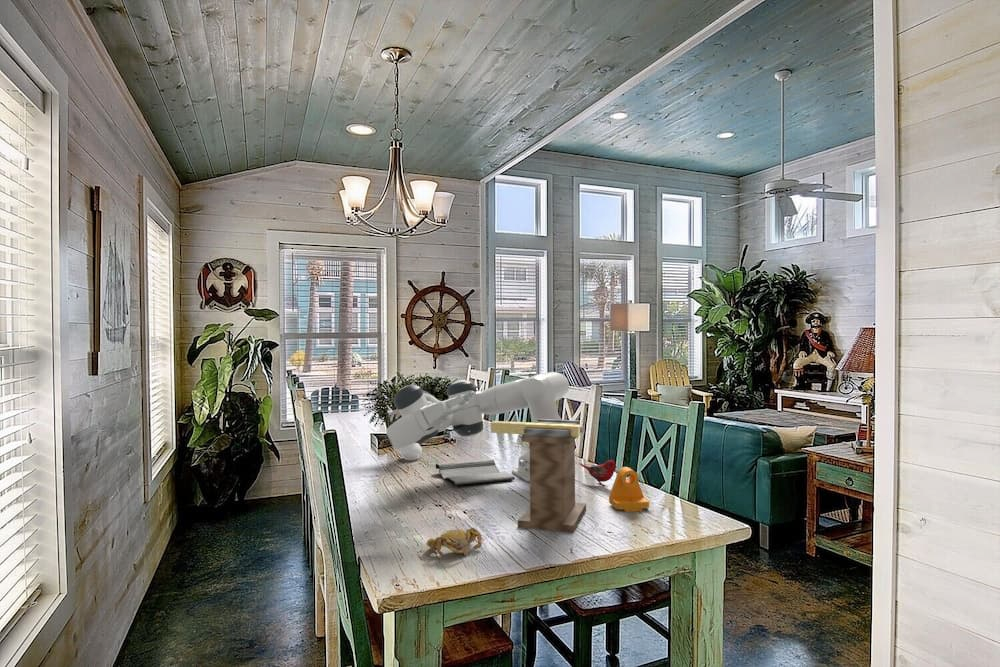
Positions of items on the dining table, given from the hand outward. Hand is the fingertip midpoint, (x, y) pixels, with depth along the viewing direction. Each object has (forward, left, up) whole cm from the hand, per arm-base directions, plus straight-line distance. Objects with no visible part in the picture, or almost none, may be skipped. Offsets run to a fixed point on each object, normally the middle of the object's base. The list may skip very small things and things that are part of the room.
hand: (468, 395), depth 184 cm
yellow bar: (+16, +13, -11) cm, 23 cm away
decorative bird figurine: (-5, +55, -37) cm, 66 cm away
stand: (+15, +20, -37) cm, 44 cm away
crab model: (+21, -17, -37) cm, 45 cm away
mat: (-39, +24, -37) cm, 59 cm away
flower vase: (-80, +16, -37) cm, 89 cm away
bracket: (+20, +46, -37) cm, 62 cm away
